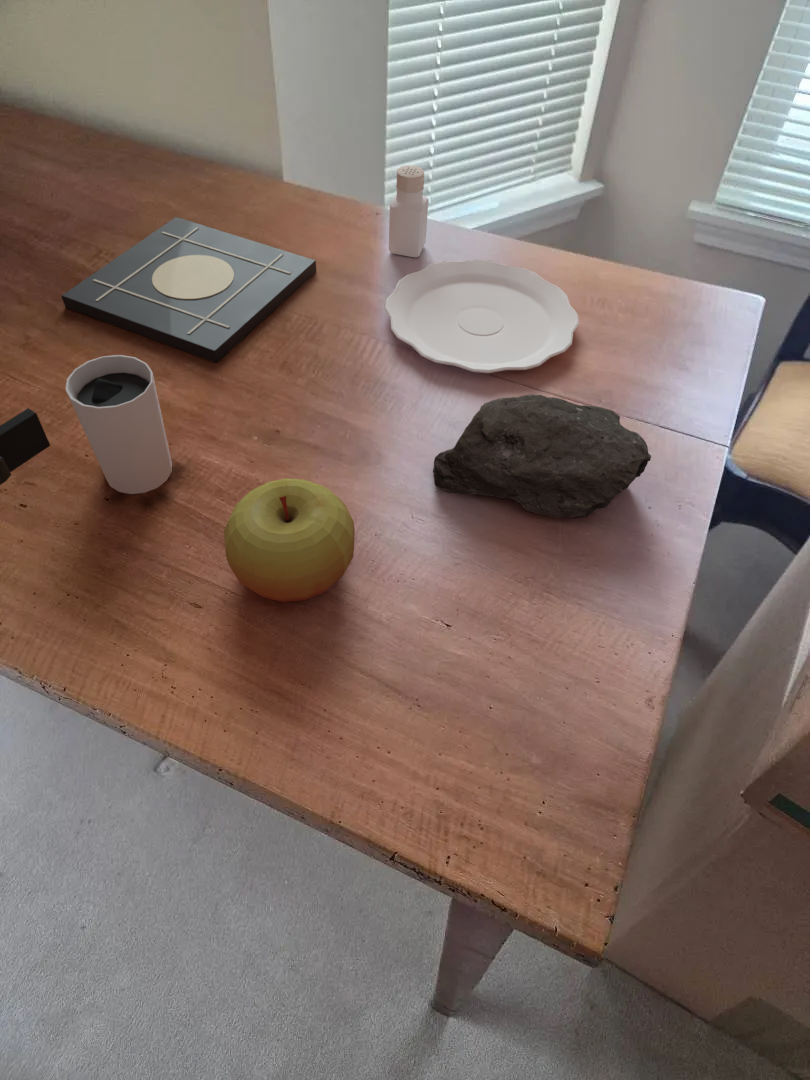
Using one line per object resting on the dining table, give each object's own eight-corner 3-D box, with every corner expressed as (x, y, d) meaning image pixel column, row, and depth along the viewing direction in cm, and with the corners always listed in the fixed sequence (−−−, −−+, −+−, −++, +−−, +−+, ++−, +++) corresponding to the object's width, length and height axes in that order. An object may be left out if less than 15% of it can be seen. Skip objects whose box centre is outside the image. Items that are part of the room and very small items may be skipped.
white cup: (91, 496, 65) (54, 406, 57) (111, 443, 69) (79, 353, 61) (168, 499, 65) (142, 409, 57) (184, 446, 69) (161, 356, 61)
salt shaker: (426, 244, 94) (431, 166, 86) (418, 260, 91) (423, 181, 84) (395, 238, 94) (398, 161, 87) (387, 254, 92) (389, 176, 84)
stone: (437, 516, 61) (448, 392, 59) (427, 492, 70) (436, 383, 67) (652, 528, 63) (672, 408, 60) (617, 504, 71) (634, 397, 69)
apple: (288, 506, 65) (280, 438, 59) (379, 559, 62) (380, 493, 55) (207, 579, 60) (188, 512, 53) (301, 642, 56) (293, 578, 50)
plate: (421, 257, 92) (422, 244, 90) (589, 295, 88) (593, 282, 87) (358, 354, 79) (358, 341, 78) (552, 403, 75) (555, 390, 74)
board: (65, 307, 82) (60, 294, 81) (178, 228, 94) (175, 215, 93) (217, 363, 77) (214, 350, 76) (316, 271, 89) (316, 259, 87)
